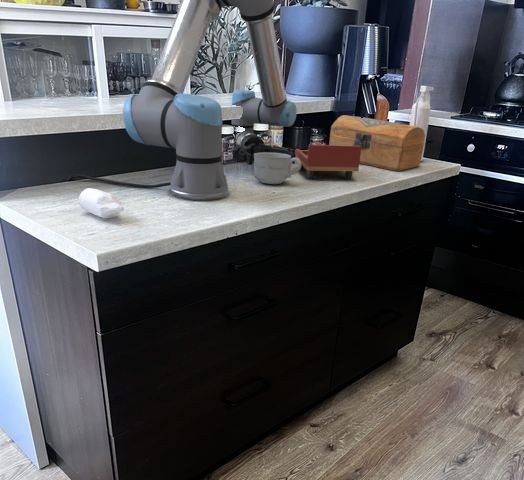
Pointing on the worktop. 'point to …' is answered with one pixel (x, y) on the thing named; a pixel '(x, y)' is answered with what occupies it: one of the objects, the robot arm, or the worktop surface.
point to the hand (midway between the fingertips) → (272, 159)
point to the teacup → (273, 167)
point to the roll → (100, 203)
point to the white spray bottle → (422, 111)
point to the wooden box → (380, 141)
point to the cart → (330, 159)
